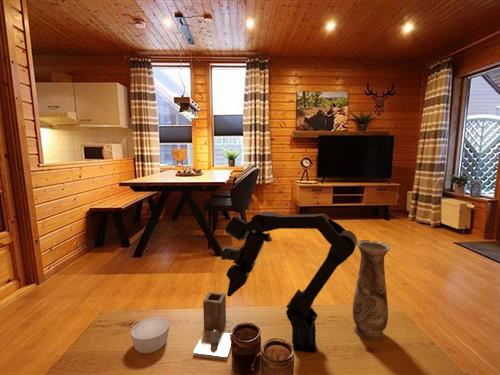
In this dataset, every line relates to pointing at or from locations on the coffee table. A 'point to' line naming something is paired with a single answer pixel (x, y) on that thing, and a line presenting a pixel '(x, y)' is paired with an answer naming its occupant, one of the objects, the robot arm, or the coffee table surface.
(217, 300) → the square pencil cup
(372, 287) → the vase
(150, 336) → the ramekin
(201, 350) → the glossy square coaster
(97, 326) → the coffee table surface
